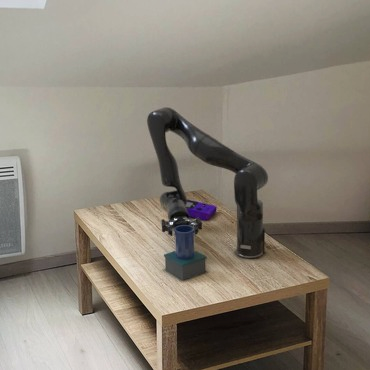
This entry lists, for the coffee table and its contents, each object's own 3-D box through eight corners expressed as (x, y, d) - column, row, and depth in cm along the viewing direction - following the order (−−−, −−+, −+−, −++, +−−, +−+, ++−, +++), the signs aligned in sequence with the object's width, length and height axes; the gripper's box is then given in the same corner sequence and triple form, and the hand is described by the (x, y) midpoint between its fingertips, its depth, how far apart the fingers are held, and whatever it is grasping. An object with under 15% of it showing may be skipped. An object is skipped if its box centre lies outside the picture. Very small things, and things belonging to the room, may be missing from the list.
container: (188, 261, 249) (188, 246, 247) (206, 272, 241) (206, 256, 239) (164, 270, 244) (163, 254, 242) (182, 281, 236) (182, 265, 234)
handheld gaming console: (209, 213, 283) (175, 204, 289) (208, 224, 285) (174, 216, 291) (217, 205, 291) (184, 197, 297) (215, 216, 293) (183, 208, 299)
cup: (186, 249, 245) (186, 223, 242) (198, 256, 240) (197, 229, 236) (171, 254, 242) (170, 228, 238) (182, 261, 236) (182, 234, 233)
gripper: (158, 207, 254) (163, 224, 239) (197, 204, 255) (204, 221, 240) (159, 226, 257) (163, 244, 241) (197, 223, 257) (204, 241, 242)
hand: (183, 232), depth 240 cm, fingers open, 8 cm apart
